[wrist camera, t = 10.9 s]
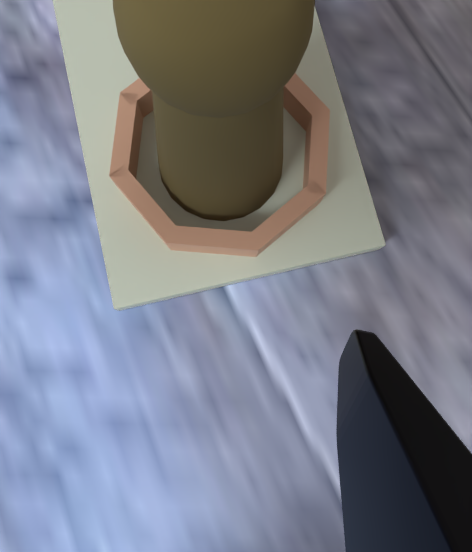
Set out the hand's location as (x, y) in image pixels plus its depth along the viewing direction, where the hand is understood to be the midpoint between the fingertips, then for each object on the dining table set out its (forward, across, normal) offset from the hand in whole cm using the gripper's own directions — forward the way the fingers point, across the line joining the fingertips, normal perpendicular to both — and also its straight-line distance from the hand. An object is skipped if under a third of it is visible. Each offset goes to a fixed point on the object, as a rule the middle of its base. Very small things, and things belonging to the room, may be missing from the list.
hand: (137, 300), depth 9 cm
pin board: (+17, +2, -1) cm, 17 cm away
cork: (+13, 0, +2) cm, 13 cm away
